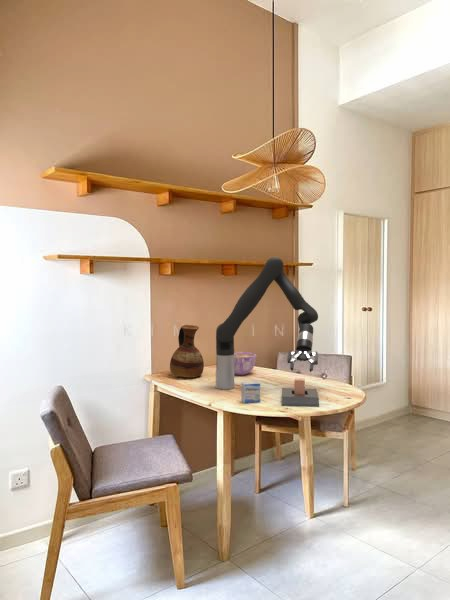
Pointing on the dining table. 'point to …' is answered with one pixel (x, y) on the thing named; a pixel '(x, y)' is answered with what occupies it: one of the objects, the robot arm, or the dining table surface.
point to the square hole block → (300, 398)
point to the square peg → (299, 386)
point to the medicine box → (250, 392)
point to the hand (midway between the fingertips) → (301, 370)
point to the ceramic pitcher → (187, 354)
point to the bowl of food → (243, 362)
